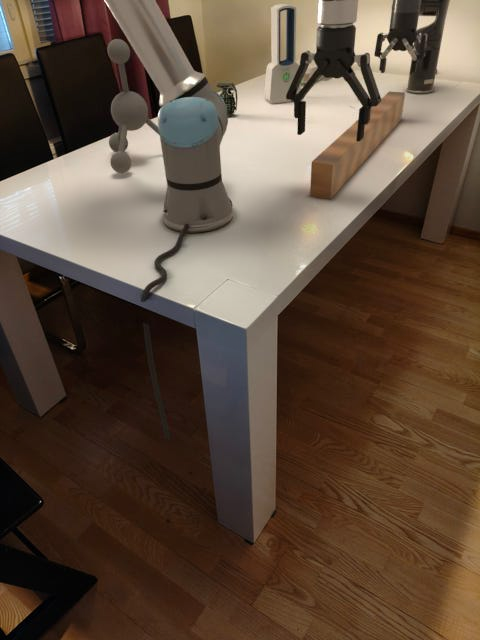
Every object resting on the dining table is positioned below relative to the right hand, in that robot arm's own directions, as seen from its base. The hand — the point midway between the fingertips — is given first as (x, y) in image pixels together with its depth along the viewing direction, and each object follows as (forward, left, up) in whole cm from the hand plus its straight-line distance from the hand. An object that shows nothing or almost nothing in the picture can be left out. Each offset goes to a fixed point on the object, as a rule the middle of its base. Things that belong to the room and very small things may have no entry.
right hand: (396, 73), depth 146 cm
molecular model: (+56, -55, -14) cm, 79 cm away
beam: (+29, 0, -14) cm, 32 cm away
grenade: (+10, -54, -14) cm, 56 cm away
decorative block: (-51, -49, -14) cm, 72 cm away
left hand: (+58, 0, -2) cm, 58 cm away
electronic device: (-14, -44, -14) cm, 48 cm away
